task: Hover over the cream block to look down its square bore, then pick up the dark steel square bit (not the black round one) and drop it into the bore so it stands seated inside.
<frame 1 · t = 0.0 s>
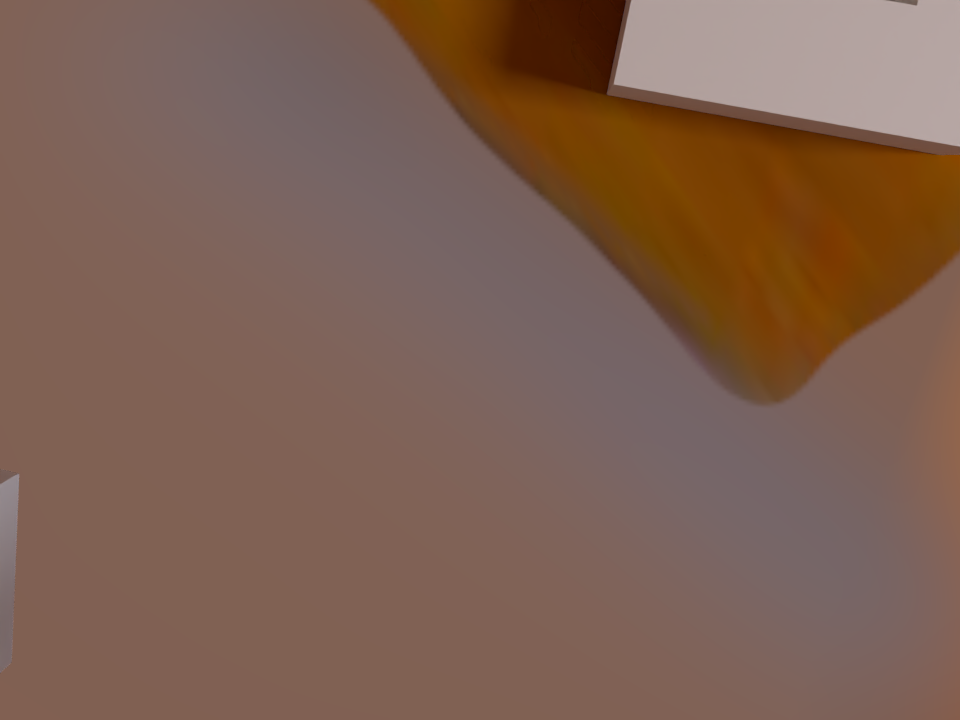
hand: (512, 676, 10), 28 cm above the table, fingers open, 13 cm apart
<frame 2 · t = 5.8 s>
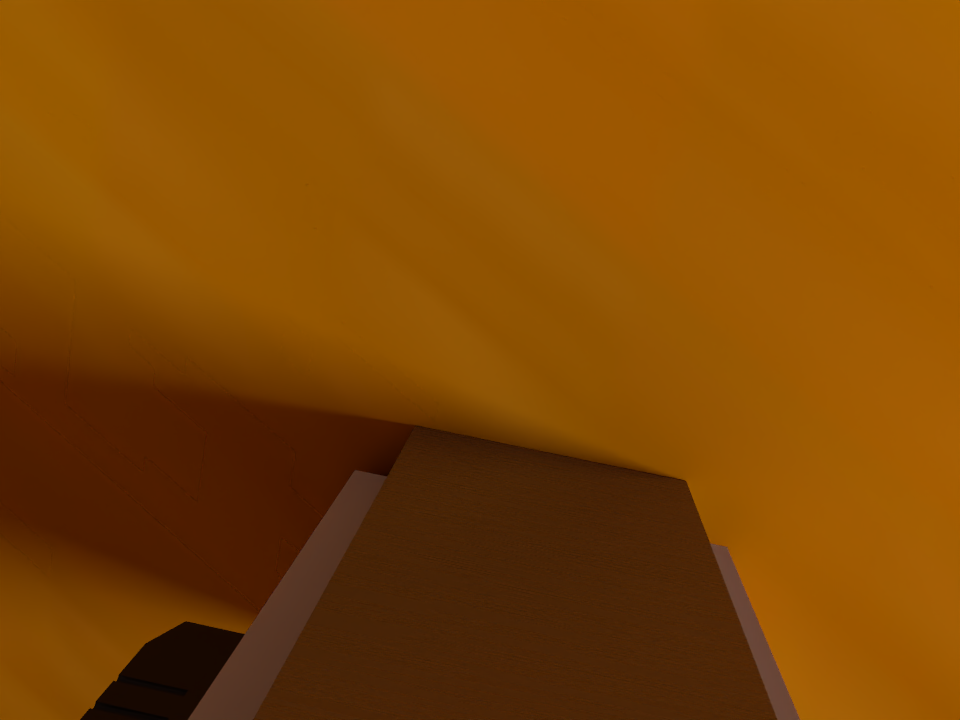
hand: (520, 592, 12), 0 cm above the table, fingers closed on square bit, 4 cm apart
square bit: (523, 575, 12), on the table, touching gripper
when the fingers open (7 cm above the table, at t = 12.0 s): square bit drops 6 cm, resting on socket block.
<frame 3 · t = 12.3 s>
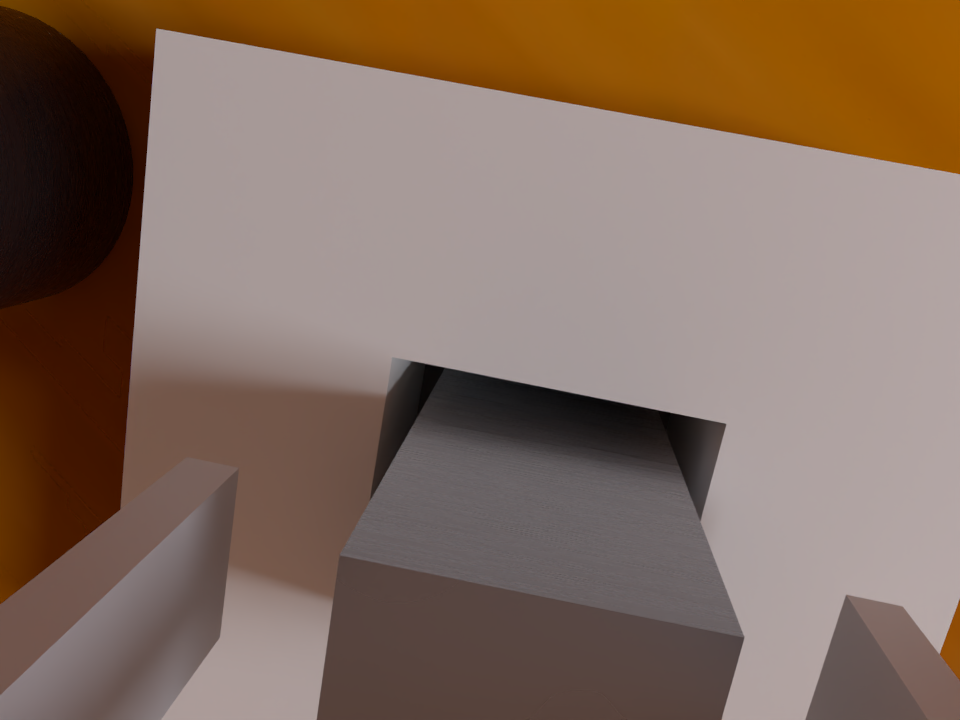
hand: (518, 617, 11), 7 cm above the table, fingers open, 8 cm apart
square bit: (534, 444, 18), resting on socket block
socket block: (534, 443, 19), on the table
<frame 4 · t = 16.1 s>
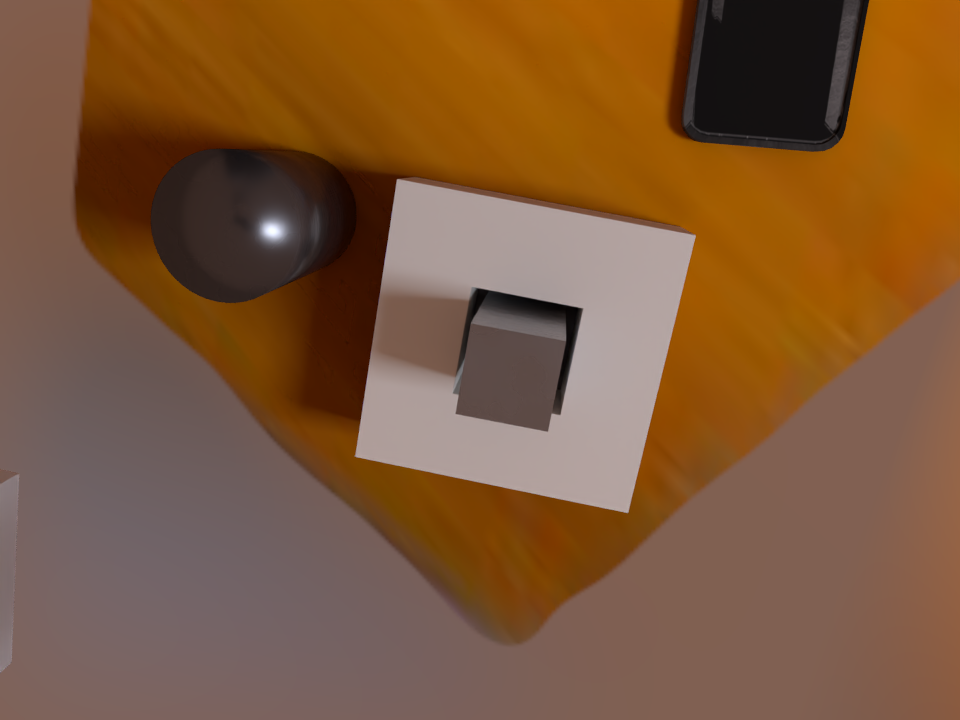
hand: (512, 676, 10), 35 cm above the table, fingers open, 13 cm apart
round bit: (298, 212, 44), on the table
square bit: (521, 330, 44), resting on socket block
socket block: (521, 331, 45), on the table
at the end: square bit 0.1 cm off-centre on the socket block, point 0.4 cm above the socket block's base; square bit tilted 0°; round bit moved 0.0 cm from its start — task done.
